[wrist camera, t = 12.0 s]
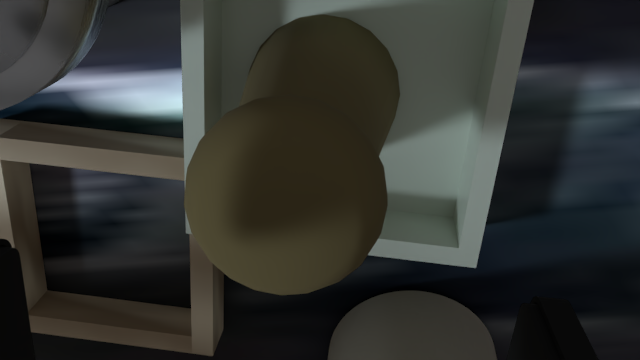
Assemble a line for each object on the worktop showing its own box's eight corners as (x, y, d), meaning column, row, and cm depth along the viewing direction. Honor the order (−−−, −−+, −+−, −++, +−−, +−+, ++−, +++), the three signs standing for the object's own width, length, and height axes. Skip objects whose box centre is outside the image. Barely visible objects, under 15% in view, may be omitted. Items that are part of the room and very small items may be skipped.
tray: (467, 229, 27) (476, 268, 24) (207, 198, 27) (185, 233, 25) (524, -54, 22) (544, -47, 19) (204, -82, 22) (178, -78, 20)
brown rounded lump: (217, 72, 24) (96, 194, 14) (341, -19, 22) (301, 48, 12) (307, 187, 26) (254, 368, 16) (429, 112, 24) (456, 264, 14)
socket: (223, 328, 30) (212, 356, 29) (30, 303, 31) (8, 329, 29) (224, 143, 26) (212, 161, 24) (1, 118, 27) (-27, 134, 25)
